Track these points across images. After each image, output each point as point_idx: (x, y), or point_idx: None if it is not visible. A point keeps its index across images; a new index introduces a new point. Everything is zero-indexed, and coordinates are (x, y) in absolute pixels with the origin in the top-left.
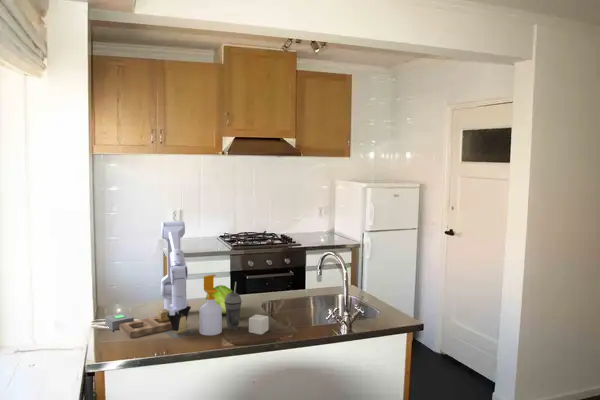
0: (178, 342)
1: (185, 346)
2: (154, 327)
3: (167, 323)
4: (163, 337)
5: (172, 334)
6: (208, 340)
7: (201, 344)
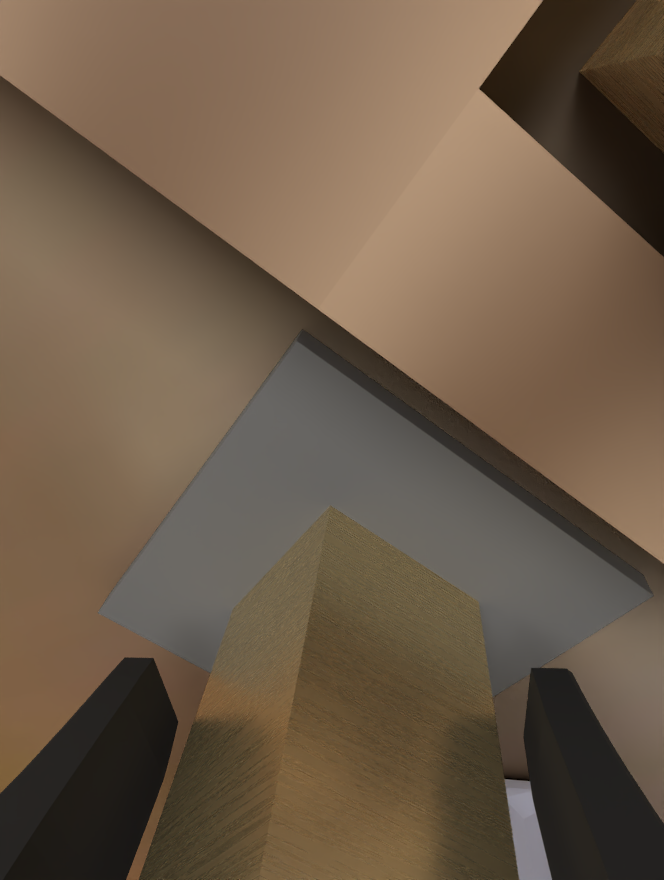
0: (71, 663)
1: (22, 744)
2: (77, 123)
3: (538, 376)
4: (112, 412)
5: (232, 539)
6: None
7: (152, 831)
